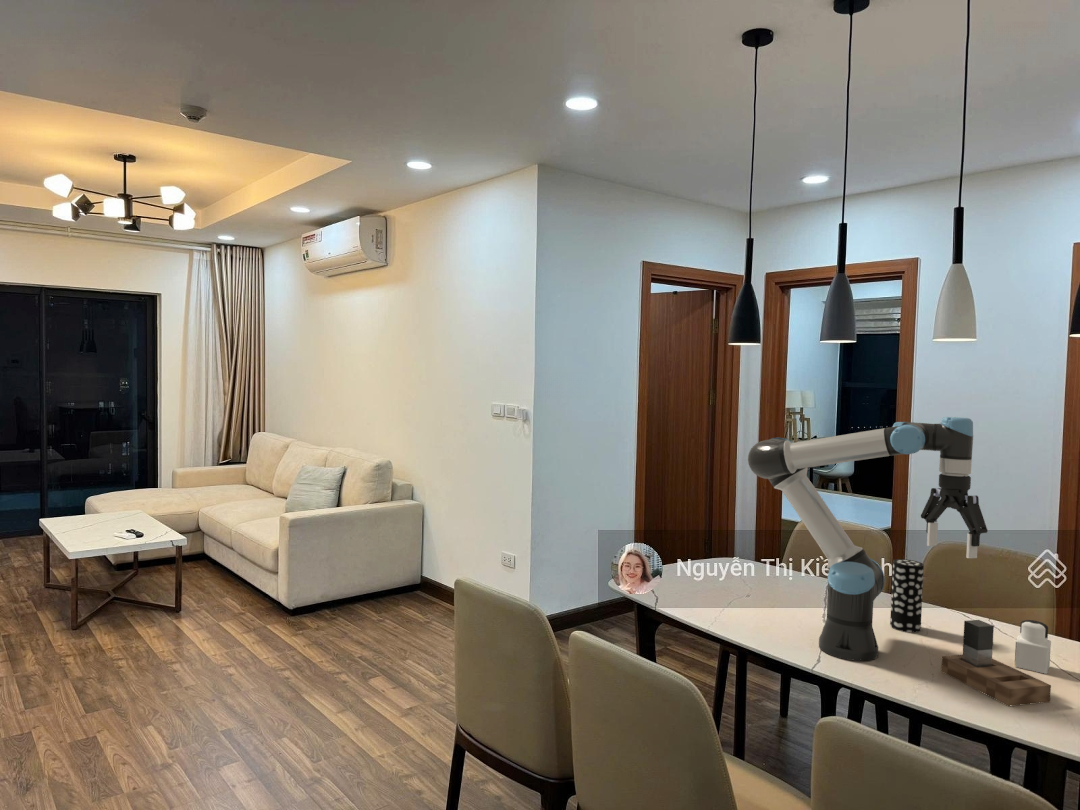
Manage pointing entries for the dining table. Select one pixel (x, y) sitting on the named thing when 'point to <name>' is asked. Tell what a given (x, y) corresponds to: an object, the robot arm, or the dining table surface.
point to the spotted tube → (906, 595)
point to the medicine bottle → (1033, 647)
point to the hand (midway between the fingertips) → (951, 551)
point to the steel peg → (978, 643)
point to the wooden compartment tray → (998, 681)
